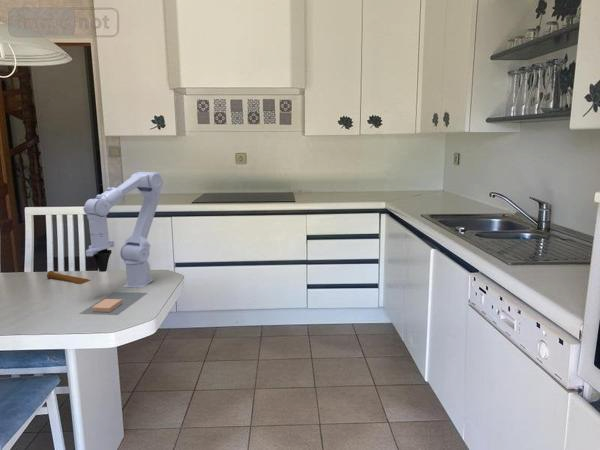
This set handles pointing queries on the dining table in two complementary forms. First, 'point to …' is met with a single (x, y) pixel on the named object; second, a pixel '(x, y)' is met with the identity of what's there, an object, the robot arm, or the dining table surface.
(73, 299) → the dining table surface
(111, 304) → the tile
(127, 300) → the mat
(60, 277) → the primitive tool
